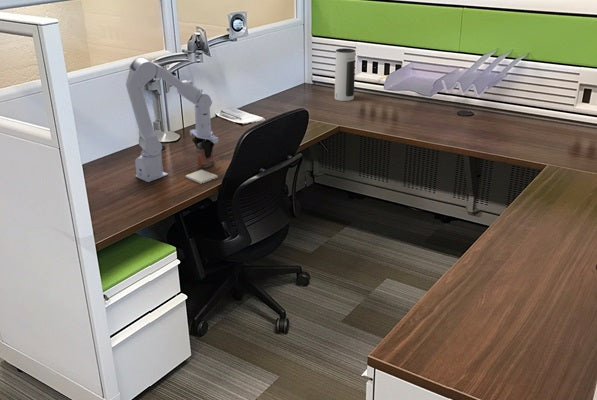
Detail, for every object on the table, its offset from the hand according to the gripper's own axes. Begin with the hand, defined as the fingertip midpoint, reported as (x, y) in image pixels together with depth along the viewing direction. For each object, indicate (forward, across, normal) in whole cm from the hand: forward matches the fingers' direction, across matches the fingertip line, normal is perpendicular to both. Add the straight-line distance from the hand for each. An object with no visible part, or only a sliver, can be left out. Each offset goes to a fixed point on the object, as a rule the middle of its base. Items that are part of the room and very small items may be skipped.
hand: (205, 156), depth 245 cm
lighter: (+4, 0, 0) cm, 4 cm away
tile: (+4, -8, +9) cm, 13 cm away
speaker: (+4, +17, -111) cm, 112 cm away
